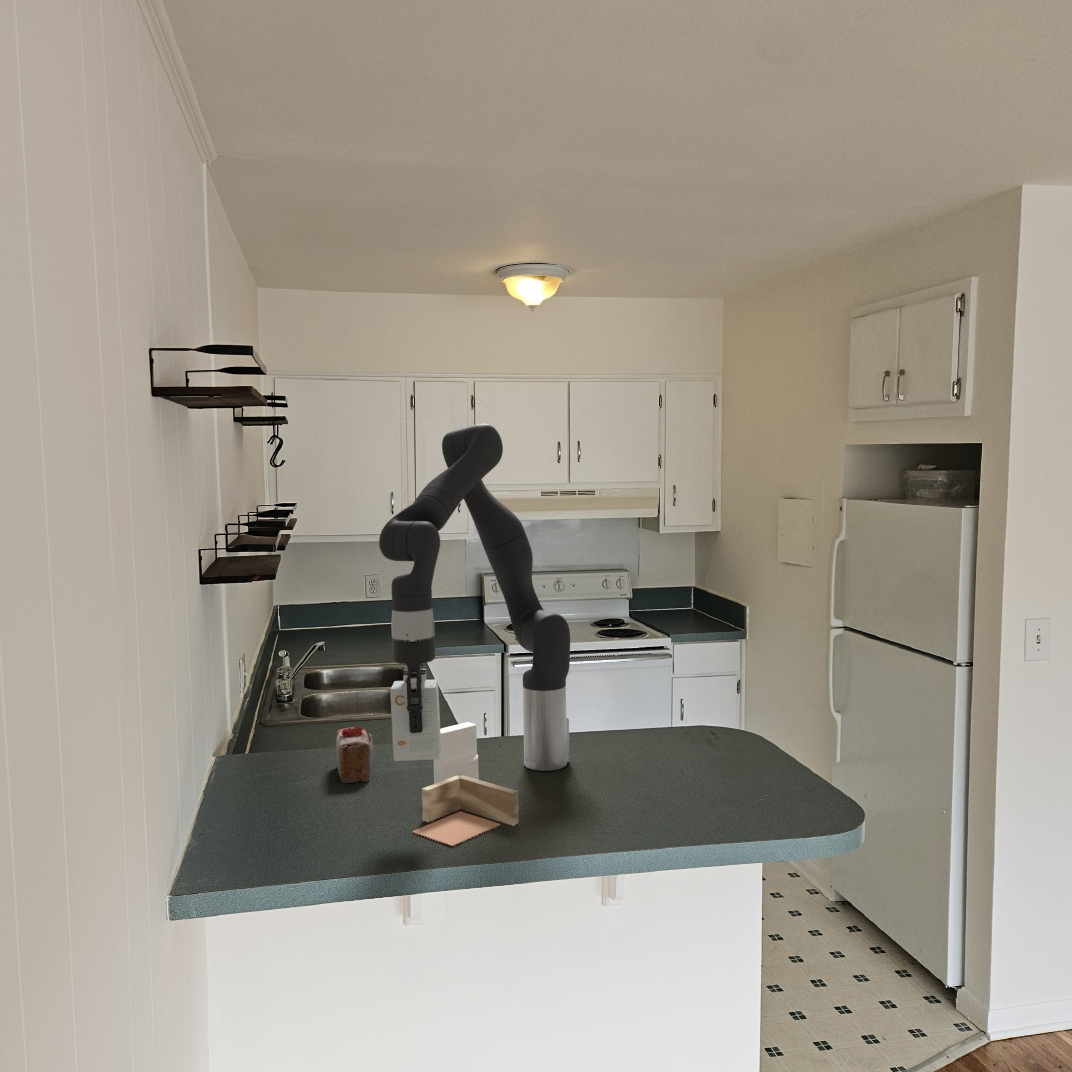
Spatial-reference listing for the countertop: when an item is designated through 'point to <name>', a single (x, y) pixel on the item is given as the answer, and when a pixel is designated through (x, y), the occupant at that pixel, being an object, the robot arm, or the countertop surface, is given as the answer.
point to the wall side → (441, 799)
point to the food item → (354, 754)
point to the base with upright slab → (457, 752)
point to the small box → (429, 739)
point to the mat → (456, 828)
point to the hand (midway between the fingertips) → (416, 726)
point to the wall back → (489, 800)
